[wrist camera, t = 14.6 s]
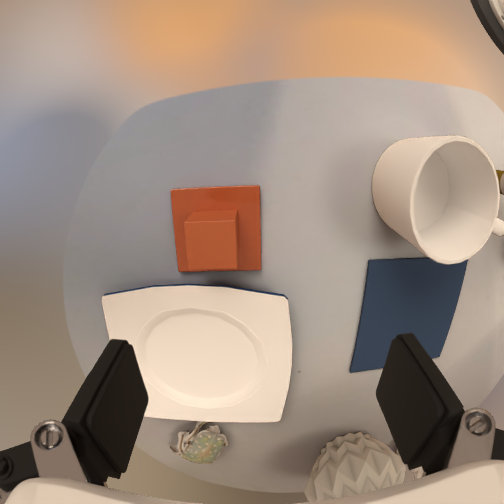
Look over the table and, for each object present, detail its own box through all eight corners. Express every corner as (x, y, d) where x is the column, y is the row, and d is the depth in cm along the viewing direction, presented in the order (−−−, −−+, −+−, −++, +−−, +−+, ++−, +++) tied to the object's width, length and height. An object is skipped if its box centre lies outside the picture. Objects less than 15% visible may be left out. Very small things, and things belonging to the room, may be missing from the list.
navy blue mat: (368, 259, 29) (369, 261, 28) (466, 255, 29) (468, 256, 28) (349, 370, 34) (350, 372, 34) (438, 355, 34) (439, 356, 34)
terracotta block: (193, 211, 26) (183, 222, 23) (237, 209, 26) (235, 220, 23) (196, 253, 28) (188, 270, 24) (239, 252, 28) (237, 268, 24)
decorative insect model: (149, 428, 37) (150, 455, 32) (215, 410, 37) (220, 438, 33) (177, 451, 41) (180, 475, 36) (236, 434, 41) (243, 459, 37)
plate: (140, 405, 36) (135, 419, 34) (101, 276, 29) (91, 287, 27) (285, 410, 36) (286, 425, 34) (294, 275, 29) (298, 287, 27)
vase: (399, 439, 41) (430, 517, 23) (321, 474, 44) (335, 553, 26) (375, 401, 36) (416, 505, 19) (279, 445, 39) (288, 547, 22)
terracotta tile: (172, 188, 26) (170, 189, 26) (259, 184, 26) (259, 185, 26) (179, 269, 29) (178, 271, 28) (261, 267, 29) (261, 270, 28)
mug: (352, 217, 27) (388, 244, 20) (386, 117, 24) (432, 110, 16) (447, 255, 29) (489, 284, 21) (477, 172, 25) (525, 184, 18)
